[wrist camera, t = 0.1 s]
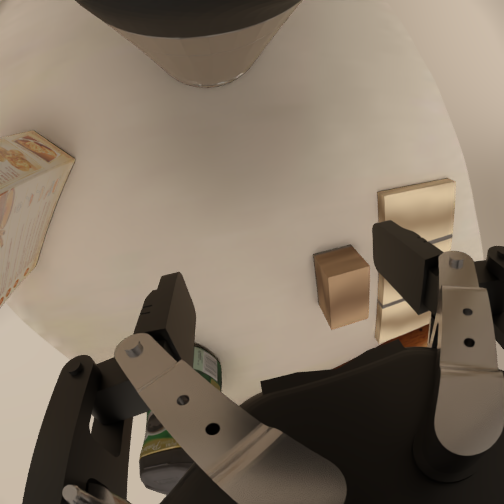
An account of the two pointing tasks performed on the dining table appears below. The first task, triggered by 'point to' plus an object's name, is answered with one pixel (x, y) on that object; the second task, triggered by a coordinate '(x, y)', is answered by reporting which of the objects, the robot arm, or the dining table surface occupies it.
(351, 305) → the block
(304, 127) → the dining table surface
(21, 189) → the coffeecake box
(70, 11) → the dining table surface
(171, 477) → the coffee jar
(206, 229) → the dining table surface
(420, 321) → the board
